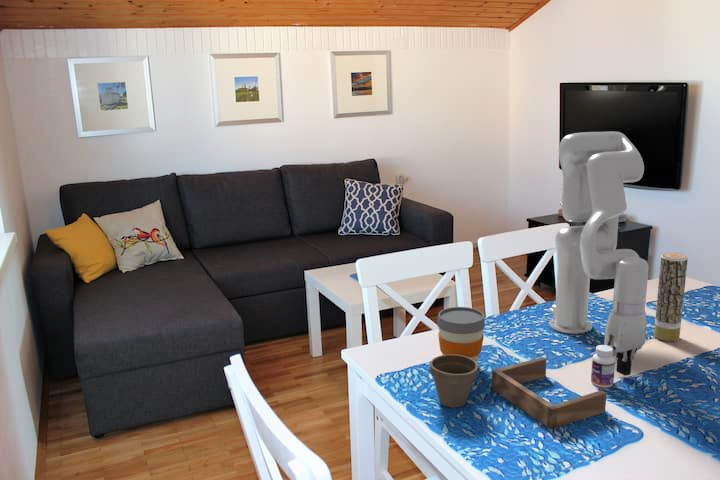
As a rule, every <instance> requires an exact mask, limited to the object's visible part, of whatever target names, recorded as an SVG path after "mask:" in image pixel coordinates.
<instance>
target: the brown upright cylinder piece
mask: <svg viewBox="0 0 720 480" xmlns="http://www.w3.org/2000/svg"><path fill="white" fill-rule="evenodd" d="M688 258H689V257H688V255H686V254H684V253H679V252H664V253H662V254H661V258H660V267H659V276H658V286H657V296H656V297H657V298H656V308H655V309H656V310H655V319H654V330H653V335H654V338H656V339H657V340H659V341H662V342H669V343H670V342H676V341H678V340H679V339H680V335H681V327H682V326H681V325H682V316H683V307H684V297H685V288H686V279H687V270H688Z"/></svg>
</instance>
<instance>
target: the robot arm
mask: <svg viewBox="0 0 720 480" xmlns="http://www.w3.org/2000/svg"><path fill="white" fill-rule="evenodd" d="M558 158H559V163H560V167H561V171H562V195H561V196H562V198H561V213H562V216H563V218H564V220H565V221H566V222H569V223H570V222H571V223H585V224H584V225H574V226H573V225H572V226H566V227H563V228H561V229H559V230H558V232H557V233H556V235H555V244H554V245H555V251H556V261H557V262H556V264H557V266H556V267H557V268H556V289H555V290H556V291H555V304H553V305H551V307H550V308H548V310H547V311H548V313H550V314H552V318H550V319H549V322H548V324H549V326H550V328H551V329H553V330H554V331H557V332H560V333H563V334H571V335H572V334H573V335H579V334H580V333H581V334H586V333H588V331H589V332H591V330H593V323H592V322H591V321H590V320H588V314H589V311H588V310H589V297H590V281H591V280H609V279H610V280H612V279H613V280H614V285H613V297H612V310H610V312H609V314H608V318H607V321H606V325H605V332H604V342H603V343H604V344H603V345H608V346H610V347H612V348H613V356H614V358H615V359H616V368H615V370H616V372H617V373H618V374H621V375H623V376H625V377H627V376H630V375H631V373H632V360H634V358H635V355H636V353H637V351H639V350H641V349H642V348H643V346H644V345H645V344H646V343H645V342H646V339H647V313H646V303H647V300H646V299H647V291H648V290H647V289H648V281H649V280H648V278H649V270H650V269H649V267H650V266H649V262H648V261H647V260H645V258H644V259H643V258H641V257H640V255H639V254H638V253H637V252H636V251H635V250H633V249H632V248H631V249H630V248H620V249H617V246H618V245H617V244H618V233H619V232H618V231H619V229H618V228H619V216H620V215H623V213H625V212H626V210H627V208H628V207H627V206H628V205H627V199H626V194H625V187H624V184H625V183H635V182H638V181H640V180H641V179H642V178H643V175H644V172H645V164H644V161H643V157H642V156H641V153H640V152H639V149H637V148H636V146H635V145H634V144H633V142H631V141H630V139H629V138H628V137H627V136H626V135H625V134H624V133H622V132H620V131H587V132H586V131H585V132H582V131H581V132H574V133H570V134H567V135H565V136H564V137H563V138H562V139H561V141H560V143H559V146H558ZM585 332H586V333H585Z"/></svg>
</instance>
